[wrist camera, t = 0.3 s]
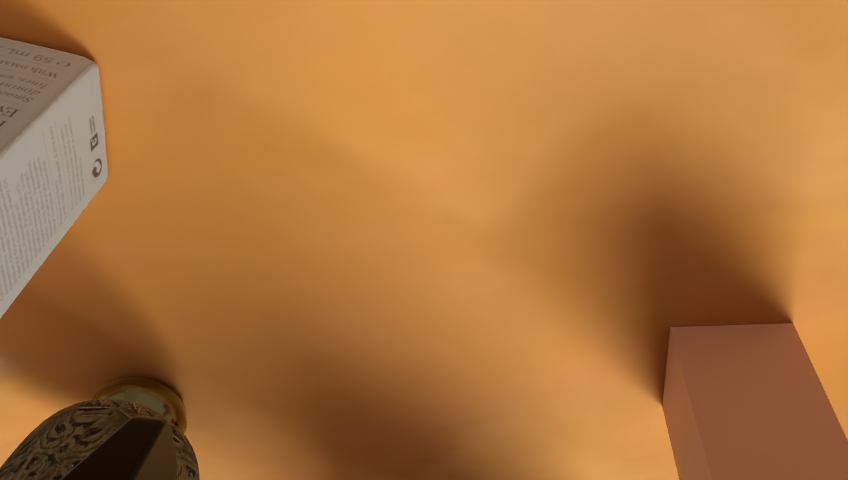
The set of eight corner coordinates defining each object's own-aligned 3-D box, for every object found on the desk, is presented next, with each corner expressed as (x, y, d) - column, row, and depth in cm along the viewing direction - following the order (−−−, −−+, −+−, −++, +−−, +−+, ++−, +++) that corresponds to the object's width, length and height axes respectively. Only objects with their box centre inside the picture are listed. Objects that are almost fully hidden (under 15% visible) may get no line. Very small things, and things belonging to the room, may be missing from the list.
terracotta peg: (774, 403, 28) (872, 656, 21) (662, 406, 29) (720, 653, 21) (793, 322, 26) (910, 576, 18) (670, 327, 26) (738, 575, 19)
